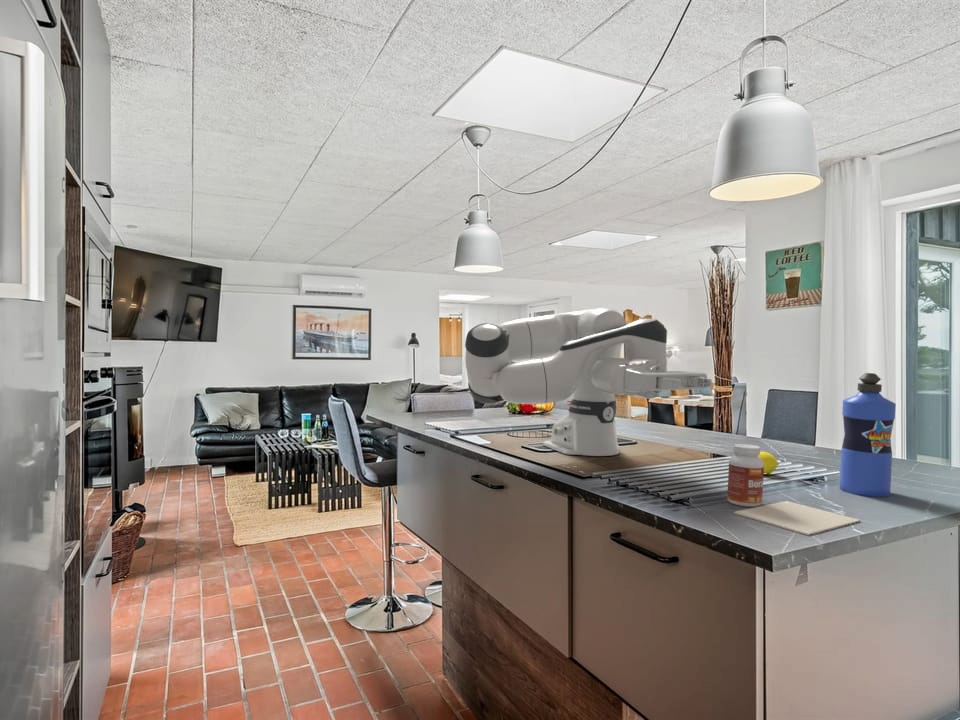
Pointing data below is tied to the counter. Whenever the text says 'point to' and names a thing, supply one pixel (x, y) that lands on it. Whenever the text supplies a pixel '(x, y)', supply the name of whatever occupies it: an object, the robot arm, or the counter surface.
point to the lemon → (768, 462)
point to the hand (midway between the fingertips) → (695, 383)
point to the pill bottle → (745, 476)
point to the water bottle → (867, 440)
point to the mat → (797, 517)
